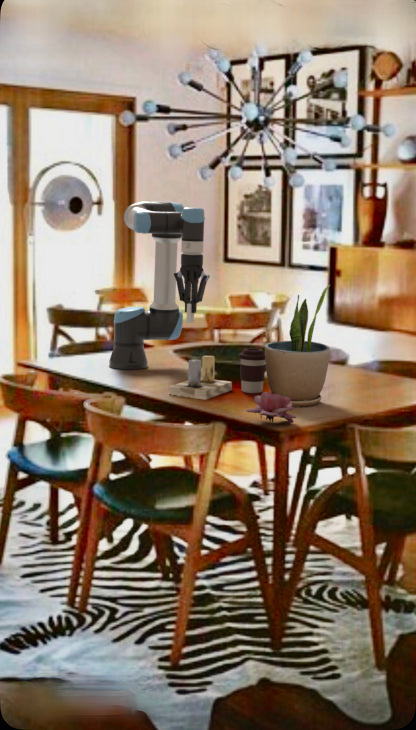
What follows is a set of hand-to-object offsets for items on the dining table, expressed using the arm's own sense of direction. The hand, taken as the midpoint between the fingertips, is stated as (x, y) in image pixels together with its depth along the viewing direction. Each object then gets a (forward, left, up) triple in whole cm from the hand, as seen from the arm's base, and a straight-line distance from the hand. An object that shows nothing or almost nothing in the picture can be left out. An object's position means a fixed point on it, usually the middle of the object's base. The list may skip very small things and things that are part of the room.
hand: (190, 322), depth 348 cm
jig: (-1, +4, -25) cm, 25 cm away
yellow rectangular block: (-6, +4, -25) cm, 26 cm away
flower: (+29, +44, -25) cm, 58 cm away
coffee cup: (-13, +18, -25) cm, 33 cm away
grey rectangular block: (+4, +4, -25) cm, 25 cm away
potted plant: (-4, +38, -25) cm, 46 cm away
